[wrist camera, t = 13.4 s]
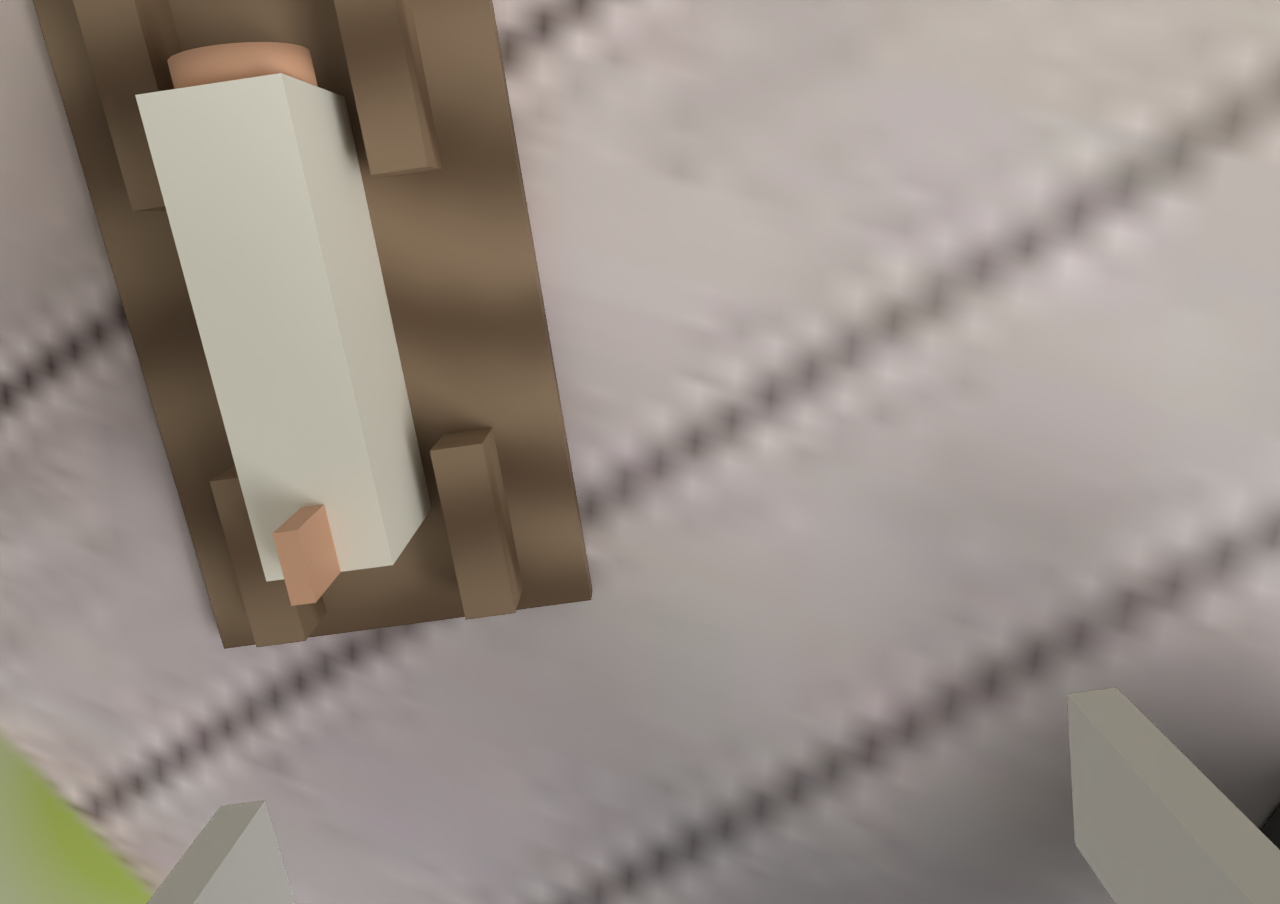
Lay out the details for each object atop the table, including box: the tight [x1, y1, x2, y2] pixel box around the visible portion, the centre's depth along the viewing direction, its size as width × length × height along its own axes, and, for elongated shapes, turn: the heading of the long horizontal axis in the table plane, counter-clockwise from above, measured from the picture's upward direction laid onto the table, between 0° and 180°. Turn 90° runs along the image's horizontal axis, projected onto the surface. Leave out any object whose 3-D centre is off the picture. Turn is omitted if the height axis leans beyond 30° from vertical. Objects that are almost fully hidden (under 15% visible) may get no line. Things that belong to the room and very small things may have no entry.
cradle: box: [33, 0, 592, 649], centre depth 34 cm, size 26×16×4 cm, turn 8°
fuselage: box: [135, 42, 432, 606], centre depth 30 cm, size 17×4×8 cm, turn 8°
